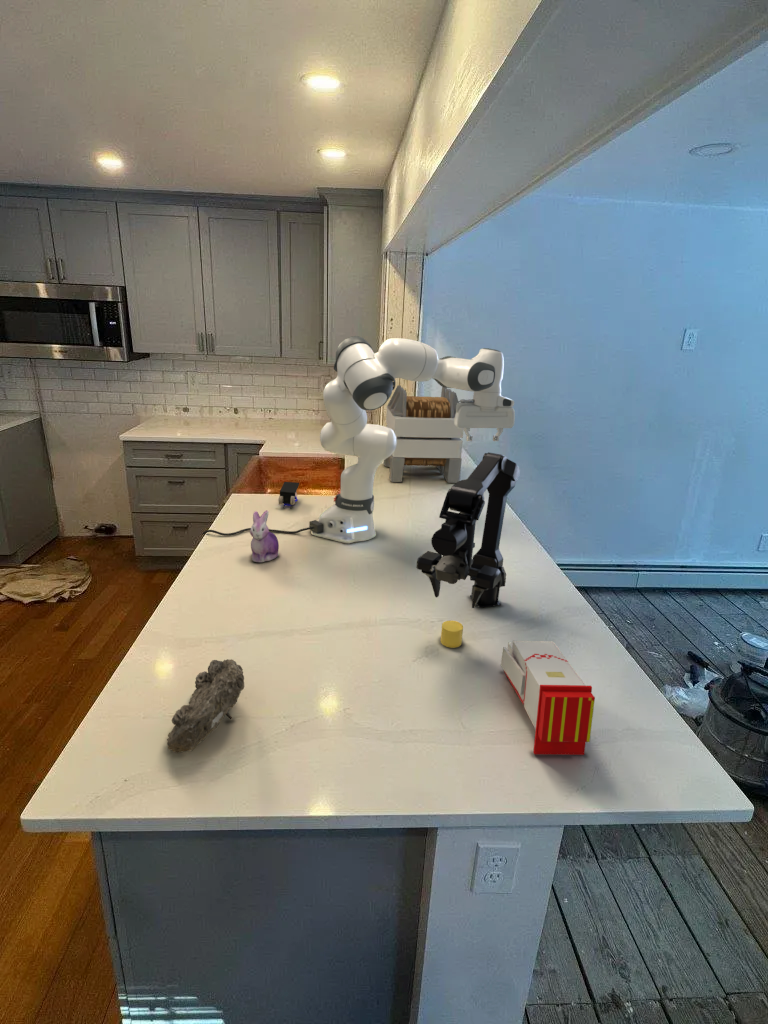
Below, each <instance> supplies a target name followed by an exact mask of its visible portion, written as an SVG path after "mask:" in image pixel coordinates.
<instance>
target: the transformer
mask: <svg viewBox="0 0 768 1024" xmlns="http://www.w3.org/2000/svg"><path fill="white" fill-rule="evenodd" d="M440 393H441V394H440V396H415V395H414V396H413V395H412V396H411V395H407V394H408V393H407V390H406V389H404V388H403V387H402V385H399V384H398V385H397V386H396V387H395V389H394V392H393V394H392V395H391V398H390V400H388V401H389V402H388V404H387V405H386V413H385V414H386V415H385V423H386V426H385V427H388V428H391V429H392V430H393V431H394V433H395V435H396V439H397V445H396V449H395V451H394V452H393V454H392V455H391V456H389V457H388V458H386V459H385V460H384V461H383V462H382V463H383V466H384V467H388V468H389V475H388V476H389V477H388V478H389V480H390V482H391V483H402V482H403V475H404V469H405V466H406V467H407V466H411V467H412V466H413V467H415V466H416V467H417V466H418V467H436V468H437V470H438V469H439V473H440V474H441V475H443V478H444V479H445V481H446V482H447V483H449V484H455V483H457V482H458V481H461V472H462V461H463V460H462V453H463V442H464V441H463V440H462V439H463V438H464V433H465V431H464V428H458V427H456V426H455V424H454V419H455V414H456V403H457V402H458V401H459V398H458V395H457V392H455V391H453V390H452V389H451V388H445V387H442V386H441V392H440Z"/></svg>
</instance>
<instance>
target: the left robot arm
mask: <svg viewBox="0 0 768 1024" xmlns="http://www.w3.org/2000/svg"><path fill="white" fill-rule="evenodd" d="M504 360H505V359H504V353H503V352H502V351H501V350H498V349H494V348H490V347H489V348H486V347H483V348H480V349H479V351H478V353H477V354H476V355H475V356H473V357H472V358H461V357H456V356H451V355H447V356H444V357H441V358H439V355H438V352H437V350H436V349H435V348H434V347H432V346H431V345H429V344H426V343H424V342H422V341H418V340H415V339H409V338H403V337H391V338H387V339H386V340H384V341H383V342H382V343H381V345H380V346H379V348H378V351H377V352H374V351H373V347H372V345H371V344H370V343H369V342H368V341H367V340H366V339H365V338H364V337H363V336H358V335H354V336H350V337H347V338H344V340H342V341H341V342H340V343H339V345H338V346H337V348H336V351H335V360H334V363H333V370H334V371H335V372H336V377H335V378H334V379H331V380H330V381H329V382H328V383H327V384H326V385H325V386H324V389H323V392H322V397H323V405H324V408H325V412H326V414H327V416H328V419H329V421H328V422H326V423H325V424H324V425H323V427H321V430H320V432H319V442H320V445H321V447H322V449H323V450H324V451H325V452H329V453H331V454H335V455H339V456H349V457H356V458H357V463H354V464H351V465H349V466H347V467H346V468H344V469H343V470H342V472H341V474H340V490H339V491H338V492H337V494H336V495H335V496H334V497H333V502H334V504H333V505H331V506H329V507H328V508H326V509H325V510H323V512H321V514H320V515H319V517H318V520H316V519H314V520H310V521H309V527H305V528H301V529H298V530H294V531H292V530H291V531H288V530H279V529H271V528H268V529H269V532H272V533H280V534H287V535H288V534H289V535H294V534H299V533H301V532H304V531H310V533H311V536H315V537H319V538H323V539H326V540H330V541H336V542H339V543H343V544H352V543H357V542H365V541H368V540H372V539H373V538H375V537H376V535H377V532H376V528H375V523H374V513H373V512H374V509H375V496H374V481H375V475H376V472H377V470H378V469H379V467H380V465H381V464H382V463H384V460H385V459H386V458H388V457H389V456H391V455H392V454H393V452H394V451H395V449H396V445H397V439H396V435H395V433H394V431H393V430H392V429H391V428H388V427H386V426H385V425H381V424H373V423H368V414H367V411H375V410H378V409H381V408H382V407H383V406H385V404H387V402H388V401H389V399H390V397H392V395H393V394H392V393H393V391H395V389H396V379H402V380H405V381H411V382H417V383H419V382H429V381H430V380H431V379H432V380H434V381H435V382H436V383H437V384H438V385H439V386H440V387H441V388H442V387H445V388H447V389H454V390H455V389H456V390H461V391H466V392H472V393H473V395H472V399H471V398H470V399H469V398H468V399H464V398H463V399H460V400H458V402H457V403H456V414H455V419H454V424H455V426H456V427H458V428H464V433H465V435H466V438H465V441H466V442H473V435H471V434H470V431H471V429H496V431H497V432H496V433H495V434H493V435H492V441H493V442H499V440H500V436H501V435H502V433H503V432H504V429H513V427H514V426H515V421H516V420H515V419H516V411H515V409H514V406H515V400H513V399H511V398H509V397H507V396H505V395H502V382H503V381H502V380H503V379H504V369H505V368H504V367H505V361H504ZM250 529H251V527H247V528H244V529H240V530H238V531H234V532H226V533H225V532H221V531H218V530H213V529H207V530H205V531H203V532H202V533H201V535H206V534H207V533H213V534H217V535H220V536H223V537H225V536H227V537H229V536H235V535H238V534H241V533H244V532H247V531H250Z"/></svg>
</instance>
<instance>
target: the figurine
mask: <svg viewBox="0 0 768 1024" xmlns="http://www.w3.org/2000/svg"><path fill="white" fill-rule="evenodd" d="M268 519H269V510H267V509H266V510H264V511H263V512H262V514H261V515H259V512H258V511H257V510H255V511H254V512H253V513H252V522H253V523H252V525H251V527H250V528H251V529H250V530H249V534H250V536H251V538H252V539H251V541H250V549H251V553H252V554H251V561H252V562H256V563H264V562H270V561H272V560H275V559H276V558H277V557H278V555H279V548H280V546H279V540H278V538H277V536H276V534H275V533H274V532H270V531H269V529H270V528H269V527H268V525H267V522H268Z"/></svg>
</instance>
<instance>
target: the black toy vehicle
mask: <svg viewBox="0 0 768 1024" xmlns="http://www.w3.org/2000/svg"><path fill="white" fill-rule="evenodd" d="M299 486H300V482H296V481H295V482H294V481H293V482H292V481H284V482H283V484H282V486H281V488H280V490H279V496H278V505H279V506H282V509H285V508H286V507H289V509H290V510H291V509H292V508H293V506H294V505H296V502H298V501H299V500H298V492H297V490H298V489H299Z"/></svg>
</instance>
